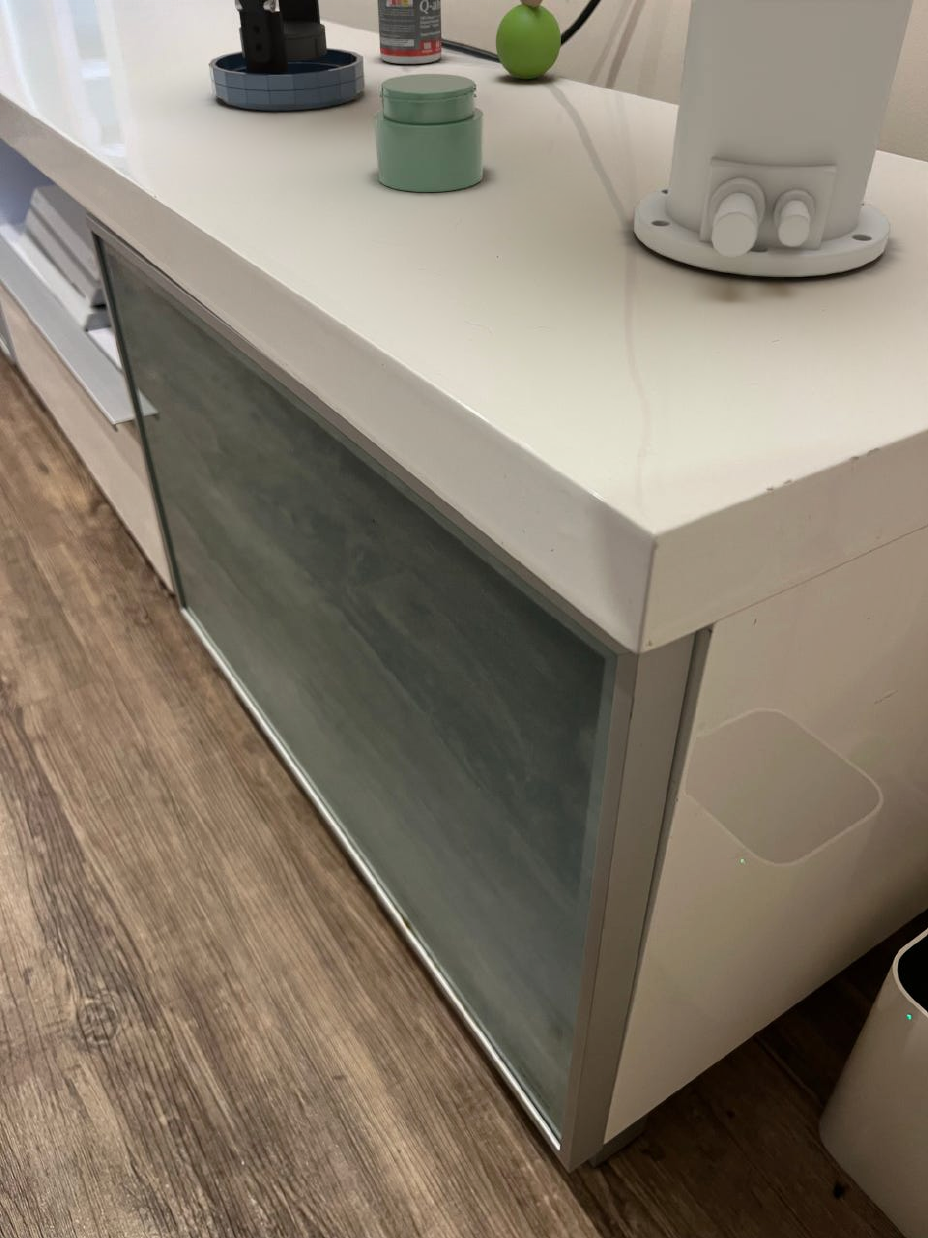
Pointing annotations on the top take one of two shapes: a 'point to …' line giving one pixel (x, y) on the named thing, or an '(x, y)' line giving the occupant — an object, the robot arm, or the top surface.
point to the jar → (429, 133)
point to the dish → (289, 82)
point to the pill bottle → (410, 30)
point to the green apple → (528, 40)
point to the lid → (302, 40)
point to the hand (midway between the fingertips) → (286, 61)
